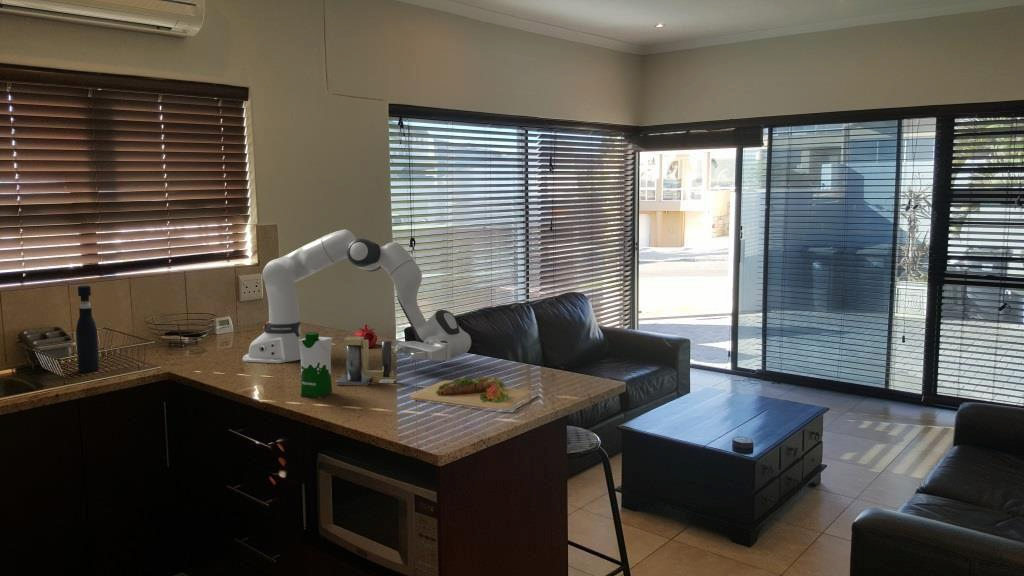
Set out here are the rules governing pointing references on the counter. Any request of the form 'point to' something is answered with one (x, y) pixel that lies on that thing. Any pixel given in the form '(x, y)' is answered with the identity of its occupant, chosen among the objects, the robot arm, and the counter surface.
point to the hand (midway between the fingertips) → (404, 353)
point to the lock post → (356, 368)
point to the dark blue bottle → (86, 334)
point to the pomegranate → (367, 335)
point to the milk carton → (315, 365)
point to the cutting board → (472, 393)
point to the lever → (386, 357)
